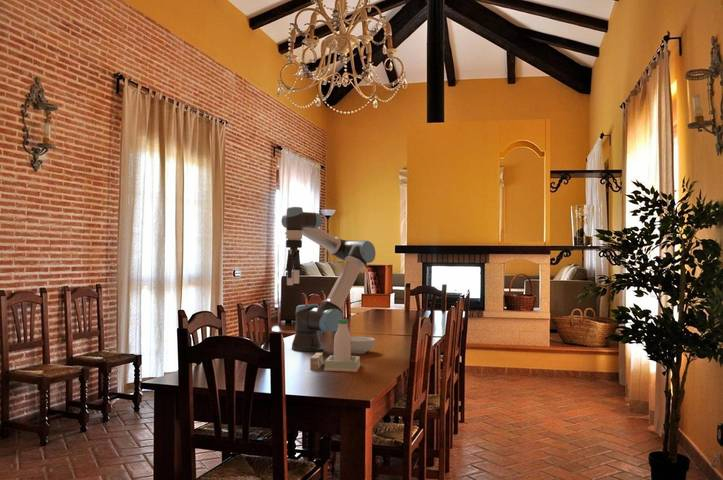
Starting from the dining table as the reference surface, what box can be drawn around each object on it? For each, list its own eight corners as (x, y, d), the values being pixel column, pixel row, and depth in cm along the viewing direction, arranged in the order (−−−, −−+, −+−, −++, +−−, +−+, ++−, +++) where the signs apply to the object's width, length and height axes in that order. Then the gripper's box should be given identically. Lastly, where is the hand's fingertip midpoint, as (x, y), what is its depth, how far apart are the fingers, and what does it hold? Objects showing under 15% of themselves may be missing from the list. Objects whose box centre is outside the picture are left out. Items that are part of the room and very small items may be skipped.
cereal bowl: (375, 350, 309) (376, 336, 309) (373, 356, 292) (373, 341, 292) (343, 349, 310) (343, 335, 310) (338, 354, 294) (338, 340, 294)
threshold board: (316, 363, 270) (316, 352, 270) (322, 363, 270) (323, 352, 270) (310, 369, 256) (310, 358, 256) (317, 370, 256) (317, 358, 256)
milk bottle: (349, 367, 257) (349, 320, 257) (331, 366, 259) (332, 320, 259) (352, 364, 265) (353, 318, 265) (335, 363, 266) (336, 318, 267)
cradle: (329, 364, 269) (329, 355, 269) (360, 365, 268) (360, 356, 268) (324, 370, 255) (324, 360, 255) (356, 371, 254) (356, 362, 254)
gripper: (292, 239, 297) (291, 282, 297) (279, 238, 272) (278, 285, 272) (307, 240, 296) (306, 283, 296) (296, 239, 271) (295, 286, 271)
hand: (293, 284), depth 284 cm, fingers open, 13 cm apart
